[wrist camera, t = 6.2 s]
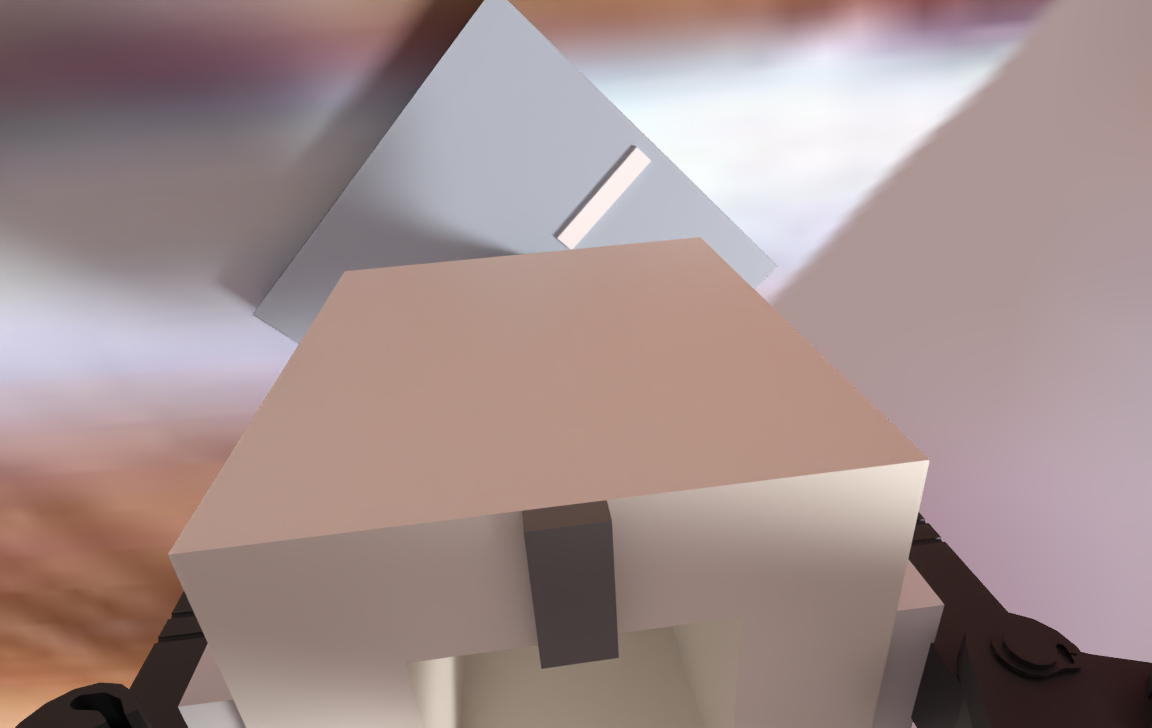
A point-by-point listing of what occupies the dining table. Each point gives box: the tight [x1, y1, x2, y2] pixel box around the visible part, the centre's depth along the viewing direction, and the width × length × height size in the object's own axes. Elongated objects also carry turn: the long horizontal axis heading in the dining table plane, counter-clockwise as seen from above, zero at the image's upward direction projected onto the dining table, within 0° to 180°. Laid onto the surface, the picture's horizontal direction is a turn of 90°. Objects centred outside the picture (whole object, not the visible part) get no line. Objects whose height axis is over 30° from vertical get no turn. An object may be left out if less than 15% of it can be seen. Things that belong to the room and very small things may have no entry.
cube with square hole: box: [168, 237, 930, 728], centre depth 11 cm, size 7×7×8 cm
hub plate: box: [253, 0, 777, 344], centre depth 19 cm, size 12×12×7 cm
